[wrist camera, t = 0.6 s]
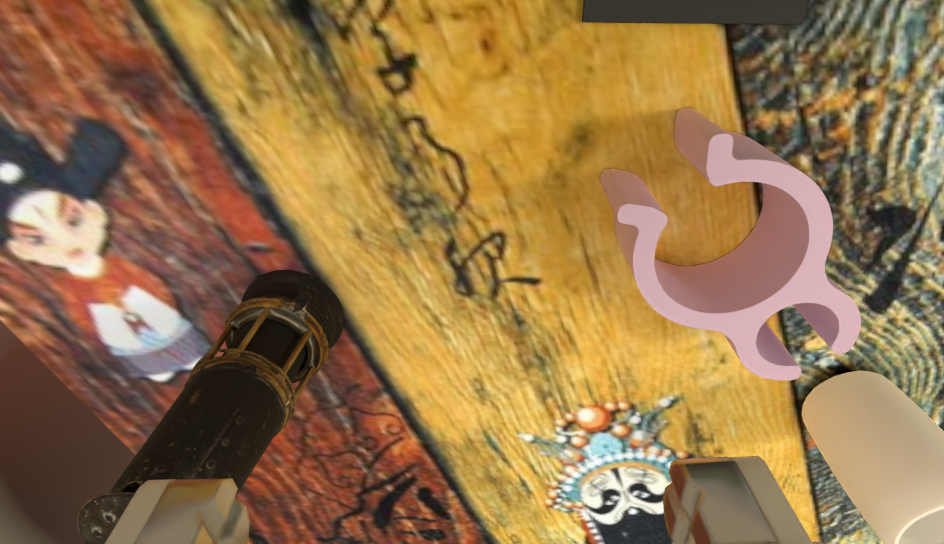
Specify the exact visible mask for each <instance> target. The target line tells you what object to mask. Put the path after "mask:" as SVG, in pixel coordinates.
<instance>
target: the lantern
mask: <svg viewBox="0 0 944 544" xmlns="http://www.w3.org/2000/svg"><path fill="white" fill-rule="evenodd" d="M343 324H344V315H343V310H342V307H341V304H340V302H339V300H338V298H337V297H336V295H335V294H334V293H333V292H332V291H331V290H330V289H329V287H328V286H327V285H326V284H324V283H322V282H321V281H319V280H318V279H316V278H315V277H313V276H310V275H308V274H305V273H300V272H296V271H288V270H281V271H273V272H270V273H267V274H265V275H262V276H260V277H258V278H257V279H255V280H254V282H253V283H252V284H251V285H250V286H249V287H248V289H247V290H246V292H245V293H244V296H243V298H242V302H241V303H240V304H239V305H238V306H237V307H236V308H234V309H233V310H232V311H231V313H230V315H229V316H228V318H227V320H226V321H225V328H224V332H223V334H222V335H221V336H220V338H219V339H218V340H217V342H216V343H215V345H214V346H213V348H212V349H211V350H210V352H209V353H208V354H207V355H205V356H203V357H202V358H201V359H200V360H199V361H198V362H197V364H196V365H195V366H194V368H193V369H192V372H191V374H190V376H189V378H188V379H187V382H186V384H185V388H184V390H183V391H182V393H181V394H180V395H179V397H178V398H177V399H176V401H175V402H174V404H173V405H172V406H171V408H170V409H169V410H168V412H167V413H166V415H165V416H164V417H163V419H162V420H161V422H160V423H159V424H158V426H157V427H156V428H155V430H154V431H153V433H152V434H151V435H150V437H149V438H148V439H147V441H146V442H145V444H144V445H143V446H142V448H141V449H140V450H139V452H138V453H137V455H136V456H135V457H134V459H133V460H132V462H131V463H130V464H129V466H128V467H127V468H126V470H125V471H124V473H123V474H122V476H121V477H120V478H119V480H118V481H117V482H116V484H115V485H114V486H113V488H112V489H111V490H110V492H109V493H107V494H104V495H100V496H97V497H95V498H93V499H91V500H89V501H87V502H86V503H85V505H84V506H83V507H82V508H81V510H80V511H79V515H78V519H77V524H78V530H79V533H80V535H81V536H82V538H83V540H84V541H85V543H86V544H105V542H106V541H107V539H108V537H109V536H110V534H111V533H112V531H113V529H114V528H115V526H116V524H117V523H118V521H119V519H120V518H121V516H122V514H123V513H124V511H125V509H126V508H127V506H128V504H129V503H130V501H131V500H132V498H133V496H134V495H135V493H136V491H137V490H138V488H139V487H140V486H142V485H143V484H144V483H145V482H146V481H147V480H169V479H227V478H232V479H233V481H234V482H235V484H236V486H237V488H238V491H237V494H238V493H239V491H240V489H241V488H242V486H243V484H244V483H245V481H246V480H247V478H248V476H249V475H250V473H251V472H252V470H253V468H254V467H255V465H256V464H257V462H258V461H259V459H260V458H261V456H262V455H263V453H264V452H265V450H266V448H267V447H268V445H269V444H270V442H271V441H272V439H273V438H274V437H275V436H276V435H277V434H278V433H279V432H280V431H281V430H282V429H283V428H284V427H285V425H286V423H287V422H288V420H289V418H290V417H291V415H292V414H293V412H294V410H295V405H296V400H297V398H298V396H299V395H300V393H301V391H302V390H303V388H304V387H305V385H306V383H307V382H308V380H309V378H310V377H311V376H313V375H315V374H316V373H317V372H318V371H319V370H320V369H321V368H322V367H323V365H324V363H325V361H326V359H327V356H328V352H329V349H330V348H331V347H333V346H334V345H335V343H336V342H337V340H338V339H339V337H340V335H341V333H342V329H343ZM224 341H225V342H226V345H227V349H219V348H220V347H221V345H222V344H223V343H224ZM218 351H220V352H224V354H223V355H222V356H220V357H216V358H213V357H214V356H215V354H216V353H217V352H218ZM299 381H301V382H300V383H299V385H298V387H297V388H296V390H295V391H294V387H293V384H292V383H296V382H299ZM289 391H290V393H291V395H292V397H291V396H290V393H289ZM292 407H293V409H292ZM237 494H236V496H237ZM236 496H235V497H236Z"/></svg>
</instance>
